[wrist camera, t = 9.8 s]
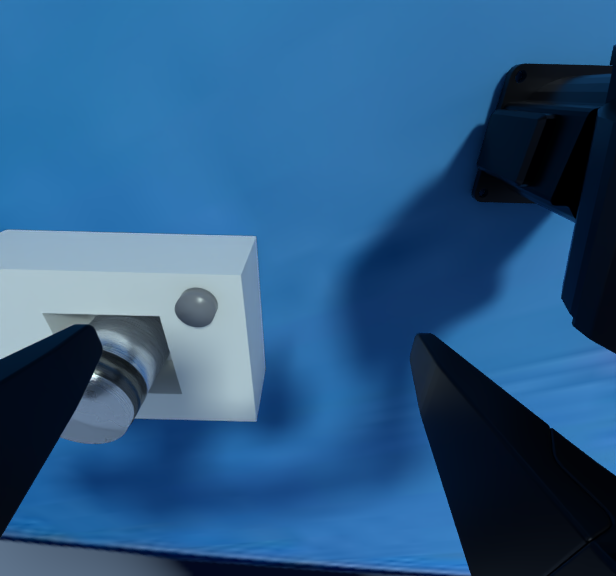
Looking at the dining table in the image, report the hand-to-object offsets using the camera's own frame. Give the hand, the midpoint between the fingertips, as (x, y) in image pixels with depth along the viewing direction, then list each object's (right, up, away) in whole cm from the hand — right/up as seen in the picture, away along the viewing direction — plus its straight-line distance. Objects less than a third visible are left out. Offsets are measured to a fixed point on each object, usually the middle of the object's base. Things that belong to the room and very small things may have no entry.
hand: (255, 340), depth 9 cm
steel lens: (-10, -1, +13) cm, 16 cm away
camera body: (-10, 0, +14) cm, 18 cm away
